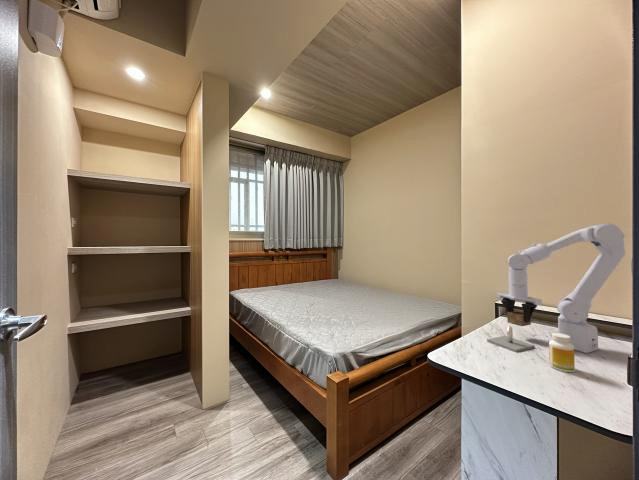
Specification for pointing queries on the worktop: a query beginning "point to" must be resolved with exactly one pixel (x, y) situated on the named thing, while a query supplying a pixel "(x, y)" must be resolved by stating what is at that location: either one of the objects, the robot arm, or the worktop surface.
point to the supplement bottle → (561, 353)
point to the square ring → (517, 318)
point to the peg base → (509, 346)
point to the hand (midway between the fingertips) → (518, 319)
